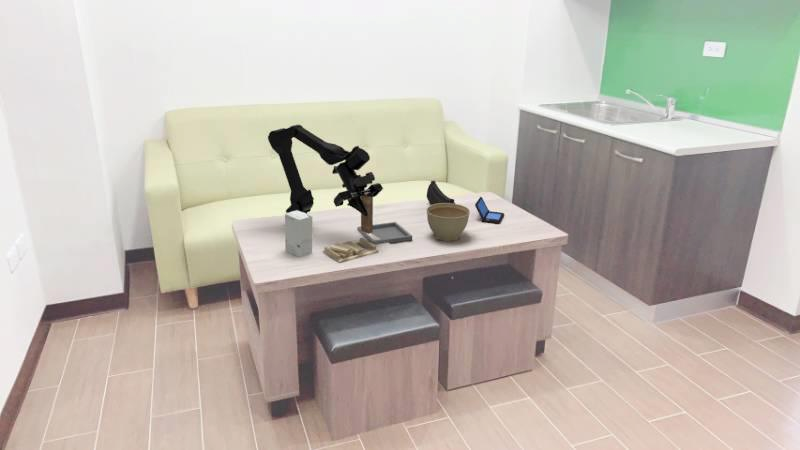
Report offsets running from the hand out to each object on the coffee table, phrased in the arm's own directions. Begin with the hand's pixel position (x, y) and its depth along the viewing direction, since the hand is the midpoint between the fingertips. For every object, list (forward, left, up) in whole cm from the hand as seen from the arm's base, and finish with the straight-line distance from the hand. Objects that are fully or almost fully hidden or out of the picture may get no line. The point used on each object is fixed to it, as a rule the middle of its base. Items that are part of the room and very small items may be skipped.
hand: (369, 215), depth 204 cm
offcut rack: (-7, -1, -13) cm, 15 cm away
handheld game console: (+58, +14, -14) cm, 62 cm away
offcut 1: (-11, -2, -11) cm, 16 cm away
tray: (+10, +11, -13) cm, 20 cm away
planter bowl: (+32, +2, -14) cm, 35 cm away
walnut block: (0, +1, -7) cm, 7 cm away
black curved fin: (+42, +26, -14) cm, 51 cm away
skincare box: (-24, +6, -14) cm, 28 cm away
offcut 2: (-11, -2, -12) cm, 17 cm away
